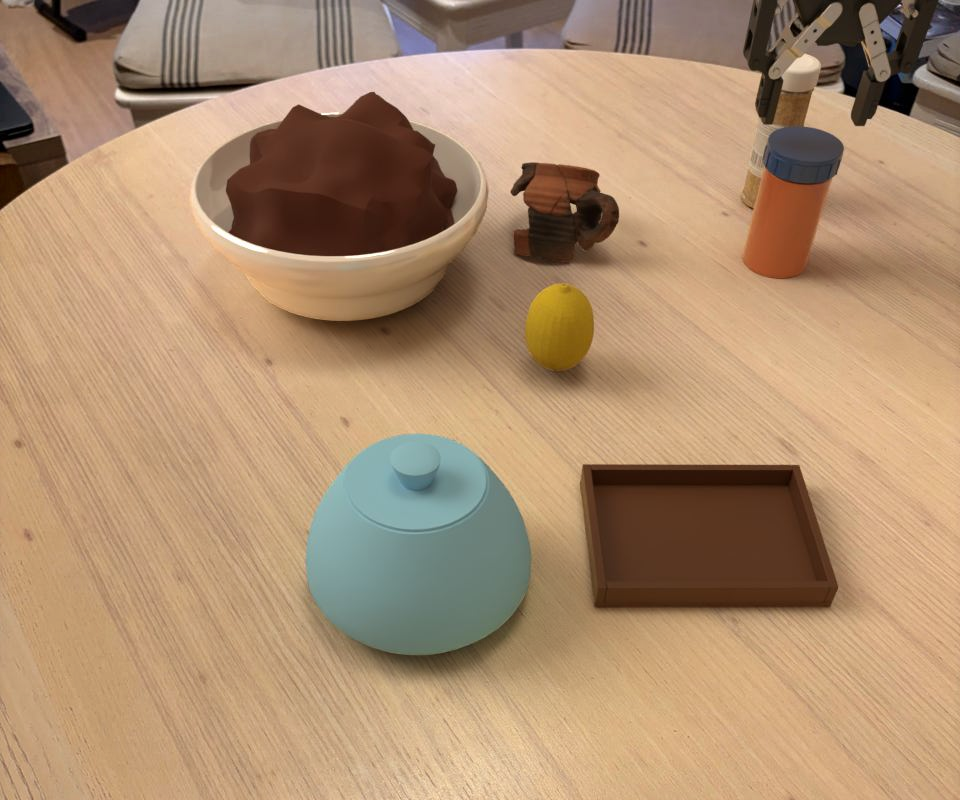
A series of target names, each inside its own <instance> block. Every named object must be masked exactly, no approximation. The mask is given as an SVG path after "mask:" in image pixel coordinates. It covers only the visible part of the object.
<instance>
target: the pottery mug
mask: <svg viewBox="0 0 960 800" xmlns="http://www.w3.org/2000/svg"><path fill="white" fill-rule="evenodd" d="M520 169H521V170H522V171H521V175H520V177H518V179H516V180H515V182H514V183H513V185H512V188H511V189H510V192H509V193H510V194H511V196H512V197H516V196H518V195H519V194H520V193H521V192H523V193H522V199H523V203H524V204H525V206H527V207H528V208H527V217H528V228H526V229H525V228H516V229H514V230H513V234H512V239H513V252H514V255H518V256H523V257H532V258H538V259H540V260H543V261H544V260H545V261H549V262H551V261H553V262H558V263H571V262H572V259H573V253H574V251H575V249H576V245H577V243H578V245H579V247H580V249H582V250H583V251H584V252H586V251H590V249H591V248H593V246H594V245H595V244H599V243H602V242H604V241H605V240H607V239H608V238H609V237H610V236H611V235H612V234H613V232H614V231H615V229H616V227H617V225H618V224H619V221H620V208H619V205H618V203H617V200H616V199H615V198H614V197H613V196H612V195H610V194H606V193H604V192H601V189H600V187H599V185H598V183H599V178H600V173H599V172H598V171H596V170H594V169H591V168H587V167H582V166H577V165H576V166H575V165H569V164H561V163H558V164H557V163H550V162H549V163H548V162H534V161H533V162H524V163H522V164H521V167H520ZM572 205H573V206H575V209H576V211H575V212H574V213H573V211H572V207H571V206H572Z"/></svg>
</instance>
